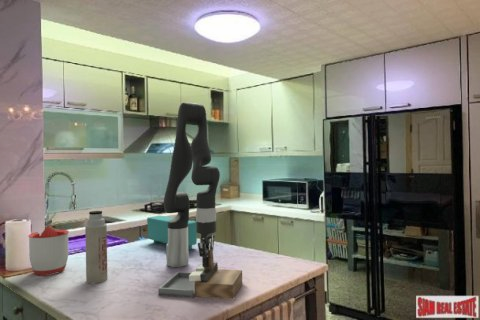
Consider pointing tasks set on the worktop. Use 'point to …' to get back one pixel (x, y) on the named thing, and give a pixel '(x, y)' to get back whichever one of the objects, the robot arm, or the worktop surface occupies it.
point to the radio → (160, 230)
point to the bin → (178, 286)
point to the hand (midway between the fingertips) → (206, 265)
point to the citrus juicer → (48, 251)
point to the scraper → (209, 268)
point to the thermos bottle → (96, 248)
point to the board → (220, 284)
